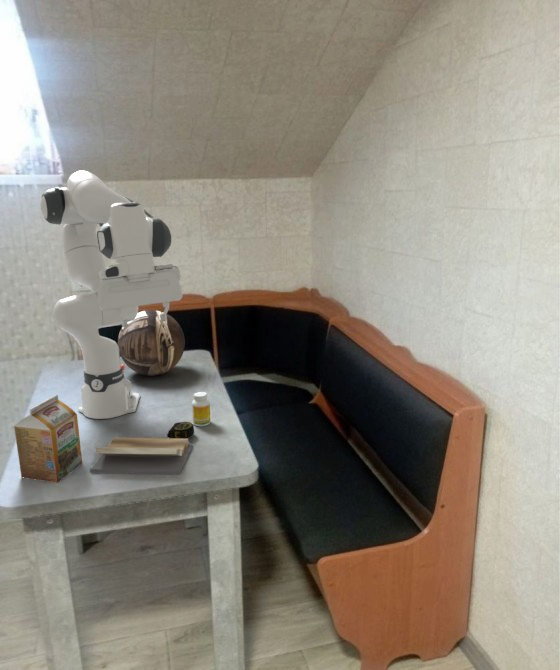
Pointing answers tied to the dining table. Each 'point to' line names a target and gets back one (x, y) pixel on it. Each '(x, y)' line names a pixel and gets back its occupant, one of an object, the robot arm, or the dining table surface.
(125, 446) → the oak plank
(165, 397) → the dining table surface
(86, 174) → the robot arm
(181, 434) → the tape measure
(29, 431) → the milk carton
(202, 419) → the supplement bottle
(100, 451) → the ash plank
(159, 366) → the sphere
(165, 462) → the board
